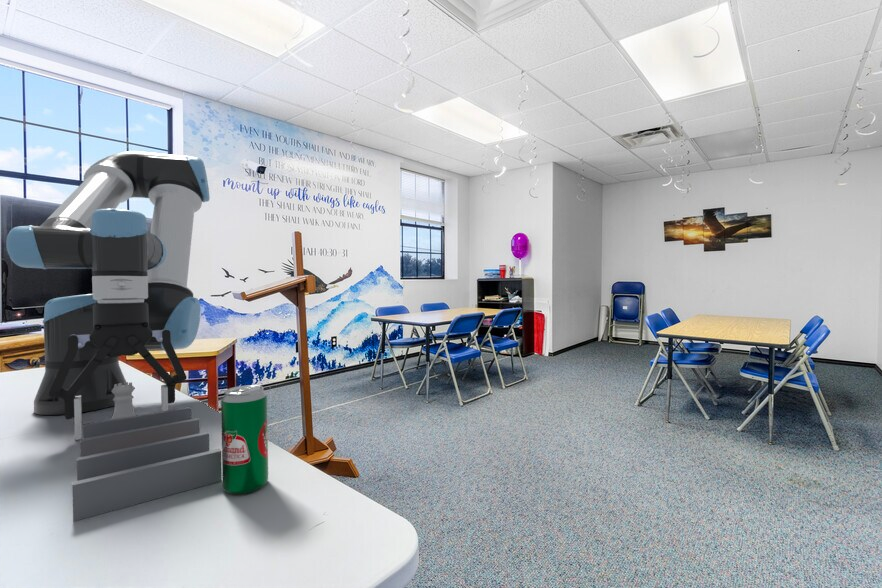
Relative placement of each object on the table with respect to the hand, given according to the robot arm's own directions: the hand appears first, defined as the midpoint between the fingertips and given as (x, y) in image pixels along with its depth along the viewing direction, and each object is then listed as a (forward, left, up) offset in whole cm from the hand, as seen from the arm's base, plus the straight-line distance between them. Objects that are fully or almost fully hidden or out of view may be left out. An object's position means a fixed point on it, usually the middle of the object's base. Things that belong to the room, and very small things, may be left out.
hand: (124, 429), depth 71 cm
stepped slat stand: (+19, +2, 0) cm, 19 cm away
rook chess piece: (0, 0, 0) cm, 0 cm away
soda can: (+35, +11, 0) cm, 37 cm away
